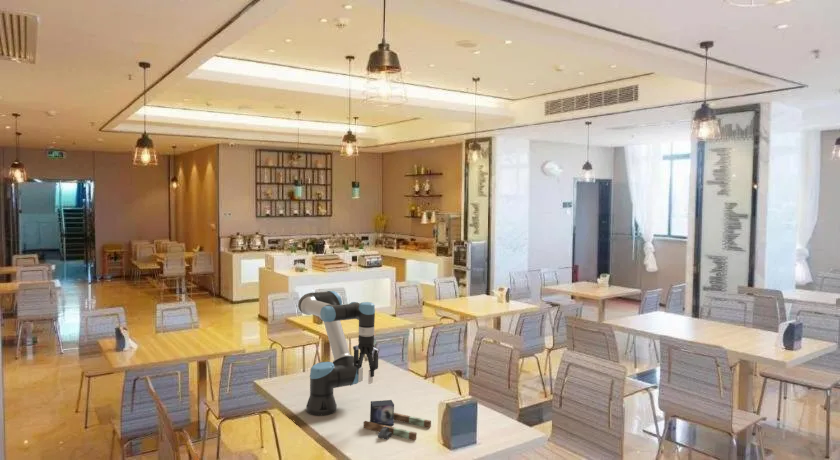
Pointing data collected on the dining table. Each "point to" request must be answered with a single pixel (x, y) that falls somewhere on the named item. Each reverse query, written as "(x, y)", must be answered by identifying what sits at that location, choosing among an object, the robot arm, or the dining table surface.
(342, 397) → the dining table surface
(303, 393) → the dining table surface
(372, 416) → the small box
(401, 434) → the beam slot
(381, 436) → the fulcrum
